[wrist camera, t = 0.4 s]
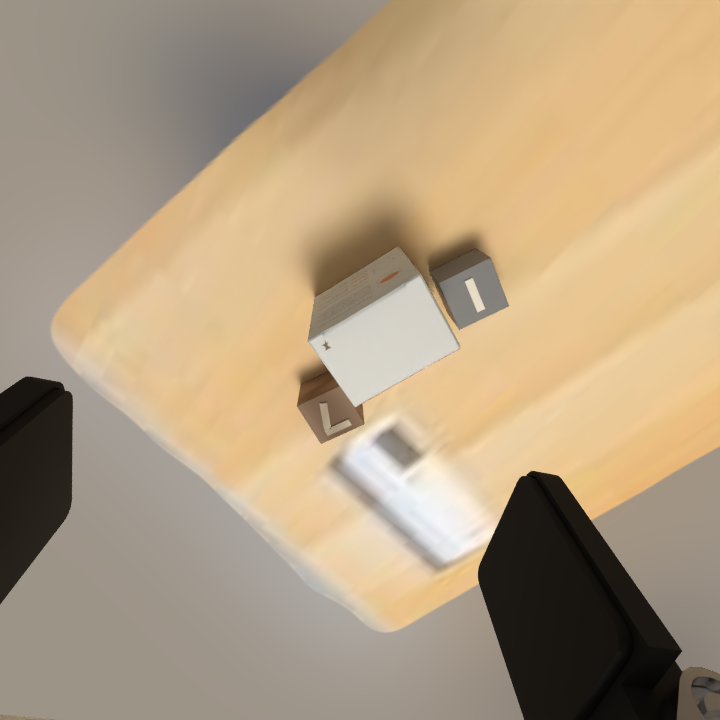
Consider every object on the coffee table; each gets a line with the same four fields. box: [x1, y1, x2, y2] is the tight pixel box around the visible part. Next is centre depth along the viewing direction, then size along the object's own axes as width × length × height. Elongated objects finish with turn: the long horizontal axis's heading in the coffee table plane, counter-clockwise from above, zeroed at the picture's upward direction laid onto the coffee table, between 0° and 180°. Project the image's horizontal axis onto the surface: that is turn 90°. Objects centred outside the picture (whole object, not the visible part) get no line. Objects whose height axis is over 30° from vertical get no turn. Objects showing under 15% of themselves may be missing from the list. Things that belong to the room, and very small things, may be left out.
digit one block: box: [429, 248, 509, 330], centre depth 36 cm, size 4×4×4 cm
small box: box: [308, 247, 460, 407], centre depth 33 cm, size 8×6×10 cm
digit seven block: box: [297, 371, 364, 444], centre depth 39 cm, size 4×4×4 cm
